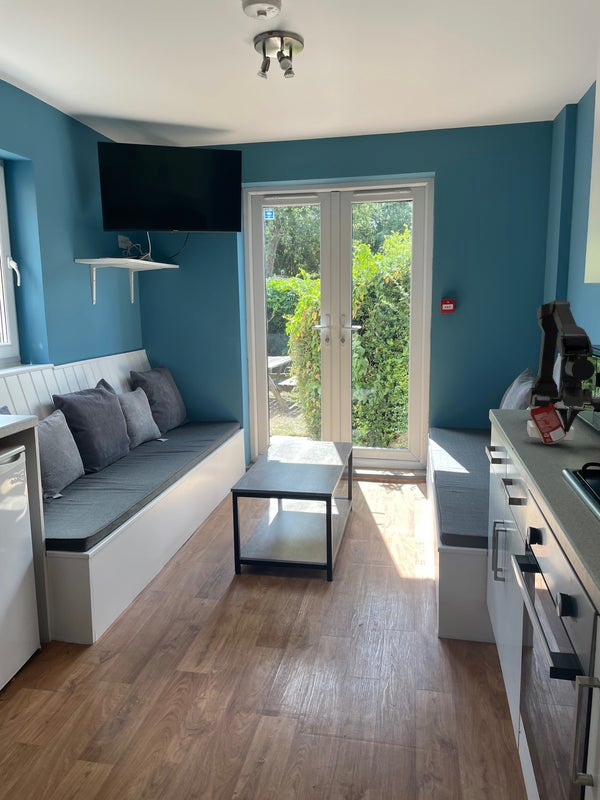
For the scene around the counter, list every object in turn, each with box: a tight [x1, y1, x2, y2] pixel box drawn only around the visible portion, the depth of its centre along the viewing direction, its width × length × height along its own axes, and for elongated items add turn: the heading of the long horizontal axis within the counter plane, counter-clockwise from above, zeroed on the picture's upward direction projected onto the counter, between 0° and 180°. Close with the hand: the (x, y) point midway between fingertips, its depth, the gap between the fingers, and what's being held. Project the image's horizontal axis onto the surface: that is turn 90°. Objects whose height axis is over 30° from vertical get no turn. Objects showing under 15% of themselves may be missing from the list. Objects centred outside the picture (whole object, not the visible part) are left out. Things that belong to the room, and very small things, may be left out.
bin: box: [526, 420, 575, 442], centre depth 176 cm, size 9×12×4 cm
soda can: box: [528, 403, 567, 445], centre depth 165 cm, size 7×7×12 cm
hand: (566, 431), depth 163 cm, fingers closed, pressing on soda can
